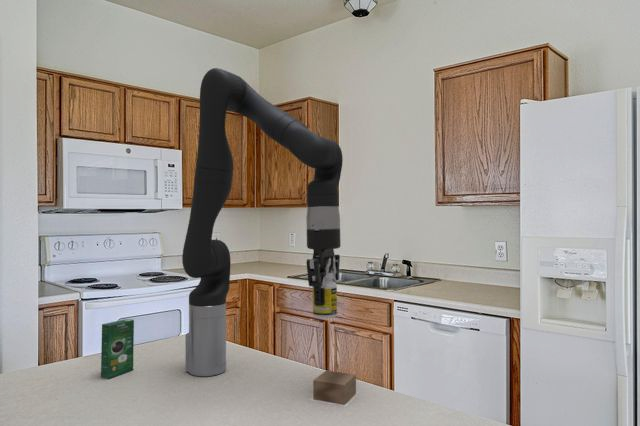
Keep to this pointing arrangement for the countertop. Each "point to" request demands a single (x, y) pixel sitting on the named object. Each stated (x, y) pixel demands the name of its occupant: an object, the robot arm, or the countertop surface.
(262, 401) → the countertop surface
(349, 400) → the mat
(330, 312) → the supplement bottle
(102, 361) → the coffee box
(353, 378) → the walnut block
